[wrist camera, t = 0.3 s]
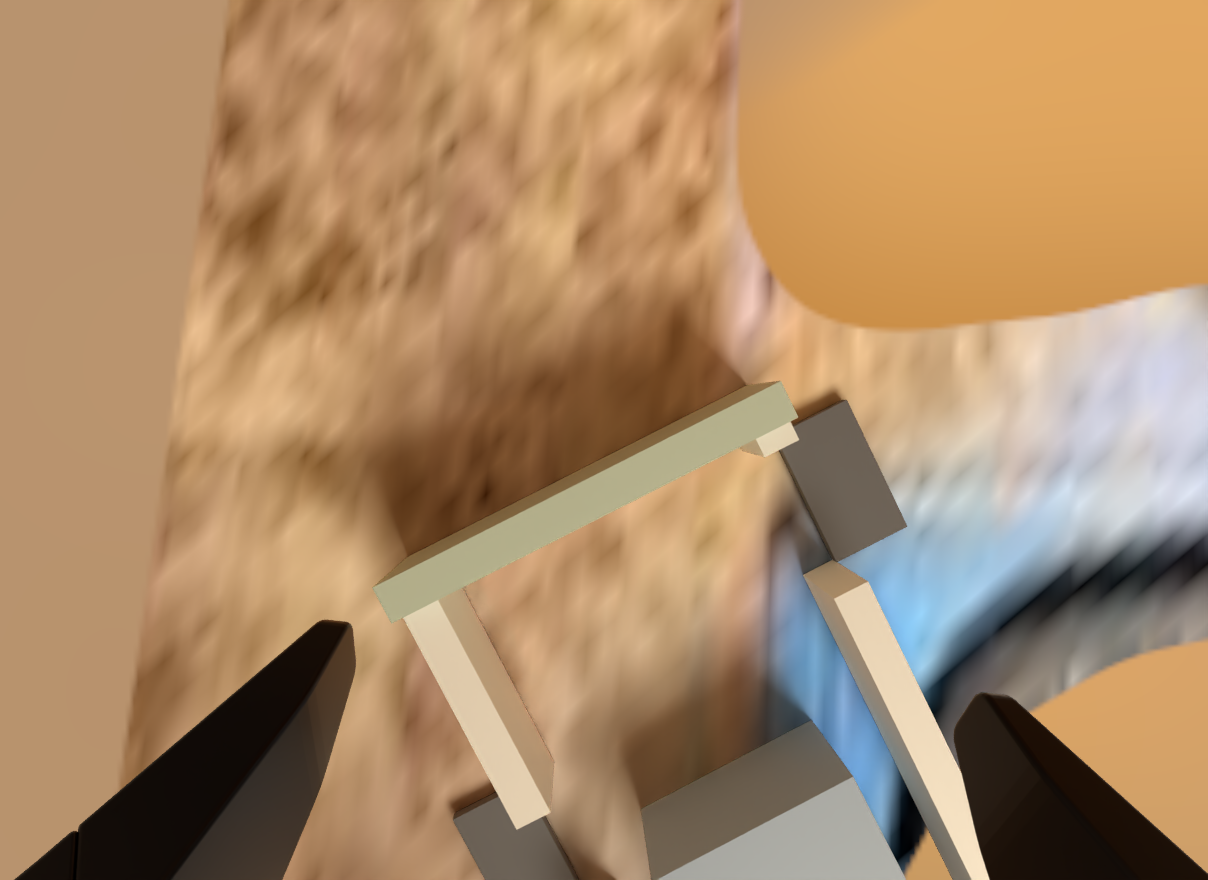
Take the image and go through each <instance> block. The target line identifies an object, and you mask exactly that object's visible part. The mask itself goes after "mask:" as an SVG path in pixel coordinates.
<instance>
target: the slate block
mask: <svg viewBox="0 0 1208 880" xmlns="http://www.w3.org/2000/svg"><path fill="white" fill-rule="evenodd" d="M641 814H642V821H643V827H644V834H645V841H646V847H647V854H648V861H649V867H650V874H651V880H906V879H905V877H904V875H903V873H902V871H901V869H900V867H899V865H898V863H897V861H896V859H895V858H894V856H893V854H892V852H891V850H890V848H889V846H888V844H887V842H886V840H885V838H884V836H883V834H882V832H881V830H880V828H879V826H878V824H877V822H876V820H875V818H874V816H873V814H872V812H871V811H870V809H869V807H868V805H867V803H866V801H865V799H864V797H863V795H862V793H861V791H860V789H859V787H858V785H857V783H856V781H855V779H854V777H853V776H852V774H851V773H850V772H849V770H848V769H847V767H846V766H845V765H844V763H843V762H842V761H841V759H840V758H839V757H838V755H837V754H836V753H835V751H834V750H833V748H832V747H831V746H830V744H829V743H828V742H827V740H826V739H825V738H824V736H823V735H822V733H821V732H820V731H819V729H818V728H817V727H816V725H815V724H814V723H813V721H812V720H810V721H808V722H806V723H805V724H803V725H801V726H799V727H797V728H795V729H793V730H791V731H789V732H787V733H785V734H783V735H782V736H780V737H778V738H776V739H774V740H772V741H770V742H768V743H766V744H764V745H762V746H761V747H759V748H757V749H755V750H753V751H751V752H749V753H747V754H745V755H743V756H741V757H740V758H738V759H736V760H734V761H732V762H730V763H728V764H726V765H724V766H722V767H720V768H718V769H717V770H715V771H713V772H711V773H709V774H707V775H705V776H703V777H701V778H699V779H697V780H696V781H694V782H692V783H690V784H688V785H686V786H684V787H682V788H680V789H678V790H676V791H675V792H673V793H671V794H669V795H667V796H665V797H663V798H661V799H659V800H657V801H655V802H653V803H652V804H650V805H648V806H646V807H644V808H642V809H641Z"/></svg>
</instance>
